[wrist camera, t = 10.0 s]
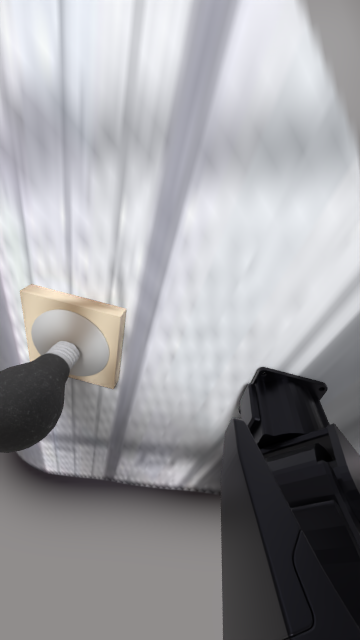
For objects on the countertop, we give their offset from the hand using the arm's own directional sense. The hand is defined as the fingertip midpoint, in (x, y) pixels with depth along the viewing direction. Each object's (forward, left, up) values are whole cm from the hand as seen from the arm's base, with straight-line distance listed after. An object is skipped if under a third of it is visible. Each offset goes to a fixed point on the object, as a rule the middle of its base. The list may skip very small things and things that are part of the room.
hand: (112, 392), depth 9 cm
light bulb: (+8, +9, -12) cm, 17 cm away
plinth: (+8, +9, -13) cm, 18 cm away
